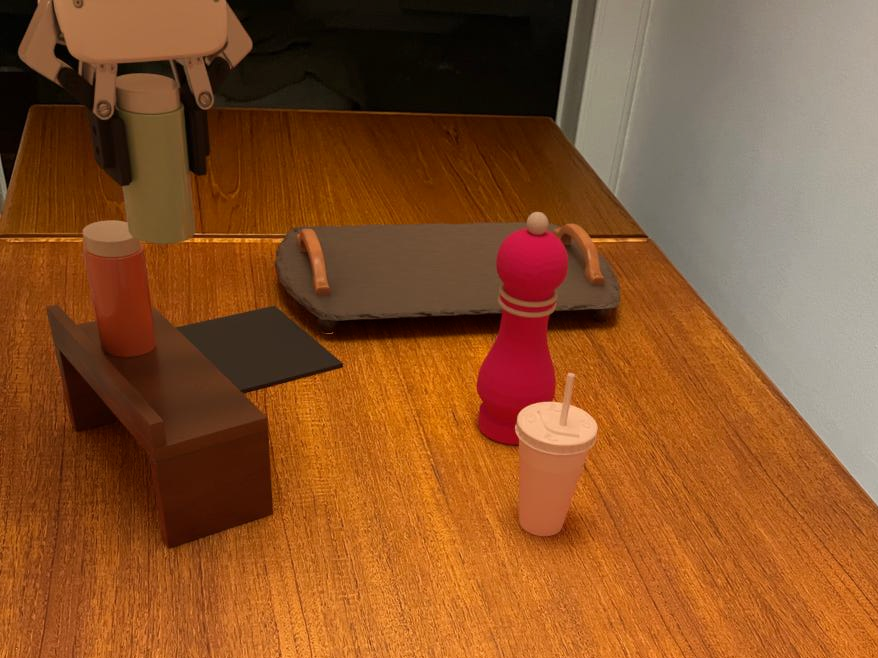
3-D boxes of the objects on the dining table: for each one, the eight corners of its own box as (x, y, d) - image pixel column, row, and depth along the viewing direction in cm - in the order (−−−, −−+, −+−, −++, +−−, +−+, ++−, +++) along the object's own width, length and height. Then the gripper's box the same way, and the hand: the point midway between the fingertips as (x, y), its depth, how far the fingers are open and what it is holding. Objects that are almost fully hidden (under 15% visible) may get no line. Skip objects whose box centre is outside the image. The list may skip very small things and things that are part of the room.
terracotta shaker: (113, 362, 79) (93, 246, 73) (91, 338, 82) (70, 224, 75) (166, 349, 81) (151, 236, 75) (143, 327, 84) (127, 215, 78)
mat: (213, 401, 93) (212, 397, 93) (149, 336, 101) (149, 333, 101) (343, 366, 100) (343, 363, 100) (274, 308, 108) (274, 305, 107)
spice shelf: (273, 513, 82) (266, 393, 74) (168, 548, 77) (150, 424, 70) (168, 400, 93) (152, 285, 85) (71, 425, 88) (45, 306, 81)
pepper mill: (561, 424, 96) (598, 212, 82) (526, 457, 91) (558, 238, 78) (496, 399, 98) (521, 188, 85) (458, 430, 94) (477, 212, 80)
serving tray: (293, 345, 102) (291, 286, 98) (263, 250, 118) (260, 196, 114) (641, 328, 112) (652, 274, 108) (571, 242, 128) (578, 192, 124)
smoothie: (538, 555, 81) (564, 402, 71) (487, 515, 84) (505, 363, 75) (594, 529, 84) (626, 379, 75) (543, 491, 88) (567, 343, 78)
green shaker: (144, 248, 66) (125, 97, 60) (118, 223, 69) (96, 75, 62) (206, 238, 69) (194, 90, 62) (178, 214, 71) (164, 69, 65)
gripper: (228, -186, 60) (246, 140, 72) (-76, -202, 51) (4, 169, 64) (290, -165, 56) (297, 177, 68) (-29, -178, 47) (46, 213, 60)
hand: (155, 170), depth 66 cm, fingers closed on green shaker, 4 cm apart
